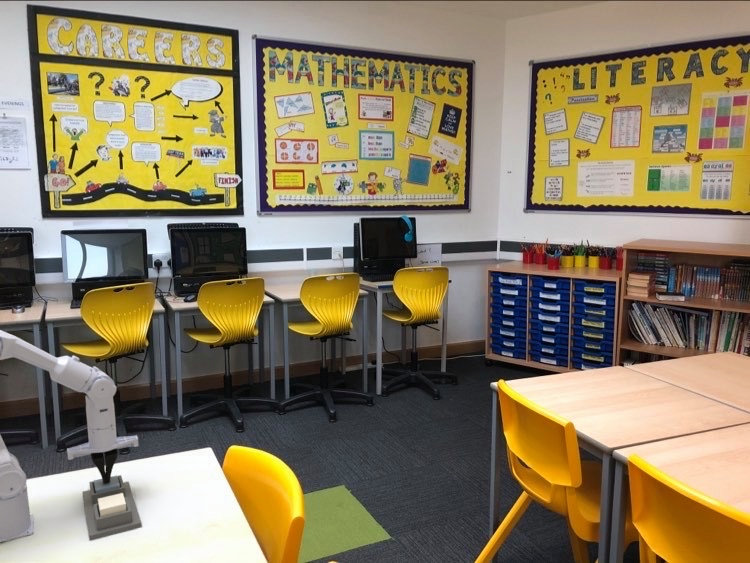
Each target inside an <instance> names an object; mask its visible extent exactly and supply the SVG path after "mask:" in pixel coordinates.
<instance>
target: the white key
mask: <svg viewBox="0 0 750 563" xmlns="http://www.w3.org/2000/svg"><path fill="white" fill-rule="evenodd" d="M98 507H99V512H100V517H104V516H108V515H112V514H116V513H120V512H124V511H126V502H125V499H124V495H123V493H120V494H116V495H112V496H108V497H103V498H99V499H98Z"/></svg>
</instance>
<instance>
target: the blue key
mask: <svg viewBox="0 0 750 563" xmlns="http://www.w3.org/2000/svg"><path fill="white" fill-rule="evenodd" d="M118 476H119V475H111V477H110V483H106V484H103V479H102V478H99V479H94V480H93V481H94V489H95V493H99V492H104V491H108V490H112V489H117V488H120V483H119V480H118Z"/></svg>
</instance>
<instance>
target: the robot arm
mask: <svg viewBox="0 0 750 563" xmlns="http://www.w3.org/2000/svg"><path fill="white" fill-rule="evenodd" d="M10 358H15V359H18V360H21V361H23V362H26V363H28V364H30V365H33V366H35V367H37V368H39V369H42V370H44V371H47V372H48V373H49V376H50V379H51V380H52V381H53V382H55V383H58V384H60V385H62V386H65V387H66V388H69V389H71V390H73V391H75V392H78V393H84V394H85V396H84V397H85V413H86V422H87V423H86V424H87V435H88V442H85V443H82V444H79V445H77V446H76V445H75V446H72V447H69V448H66V451H67V452H66V453H67V460H68V461H70V460H71V461H72V460H74V458H80V457H84V456H89V455H90V457H91V461H92V462H93V464H94V465H95V466H96V468H97V470H98V472H99V474H100V476H101V479H103V484H106V483H110V477H112V472H113V471H112V470H113V468H114V465H115V462H116V460H117V458H118V453H119V452H118V450H120V449H125V448H129V447H133V448H134V447H135V448H136V447H139V437H138V435H137V434H136V435H130V436H127V435H126V436H117V426H116V425H117V424H116V415H115V414H116V412H115V411H116V410H115V403H114V396H115V395H116V392H117V388H118V387H117V386H116V385H115V382H114V380H113V379H112V377H110V376H109V375H107V373H105V372H103V371H102V369H99V368H98V366H97V367H96V366H92V367H91V366H89V365H87V364H85V363H83V362H81V361H80V358H79V357H77V356H76V355H72V356H70V355H63V356H59V357H56V356H54V355H52V354H51V353H48V352H47V351H45V350H42V349H41V348H39V347H37V346H35V345H33V344H31V343H29V342H28V341H25V340H24V339H22V338H20V337H18V336H16V335H13V334H10V333H8V332H7V331H3V330H1V329H0V360H1V361H3V360H6V359H10ZM27 482H28V481H27V475H26V473H25V472H24V470H23V469H22V467H21V465H20V462H19V459H18V458H17V457H16V455H13V454H12V453H10V451H9V450H8V448H7V446H6V444H5V442H4V440H3V437H2V435H1V434H0V543H2V542H6V541H7V542H8V541H11V540H15V539H19V538H23V537H27V536H31V535H33V534H34V514H31V512H30V503H29V496H28V485H27Z"/></svg>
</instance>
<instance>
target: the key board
mask: <svg viewBox="0 0 750 563" xmlns="http://www.w3.org/2000/svg"><path fill="white" fill-rule="evenodd" d="M117 476H118V480H119V483H120V488H117V489H112V490H108V491H104V492H99V493H95V489H94V480H92V481H89V490H85V491H82V499H83V500H82V501H83V506H84V512H85V513H84V514H85V520H86V521H85V522H86V526H87V527H86V528H87V532H88V538H89V541H92V540H96V539H100V538H103V537H108V536H112V535H116V534H119V533H124V532H127V531H131V530H135V529H139V528H142V525H143V524H142V521H141V518H140V517H141V516H140V515H139V514H140V513H139V511H138V508H137V504H136V501H135V498H134V494H133V492H132V489H131V485H130V482H129V481H123V476H122V474H120V475H117ZM120 493H123V495H124V499H125V502H126V511H124V512H120V513H116V514H112V515H108V516H104V517H100V512H99V507H98V499H99V498H103V497H108V496H112V495H116V494H120Z"/></svg>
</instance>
